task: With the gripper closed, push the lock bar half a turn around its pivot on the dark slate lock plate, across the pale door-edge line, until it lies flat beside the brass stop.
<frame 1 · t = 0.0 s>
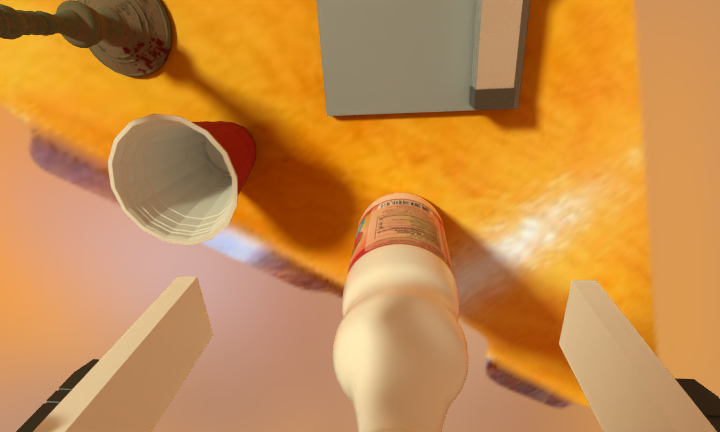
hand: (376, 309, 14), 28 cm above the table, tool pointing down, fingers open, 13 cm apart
plastic cup: (231, 145, 42), on the table
candlestick holder: (128, 26, 38), on the table
fruit juice: (400, 228, 44), on the table
lock bar: (498, 12, 31), point 3 cm above the table, hinge at 0.0°
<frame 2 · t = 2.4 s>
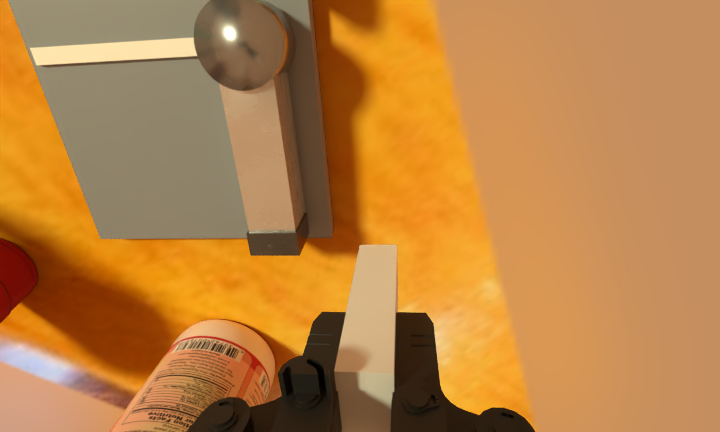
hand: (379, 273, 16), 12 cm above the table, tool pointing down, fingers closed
plastic cup: (6, 262, 34), on the table
lock plate: (175, 47, 24), on the table
fruit juice: (229, 354, 36), on the table
lock bar: (263, 137, 23), point 3 cm above the table, hinge at 0.0°
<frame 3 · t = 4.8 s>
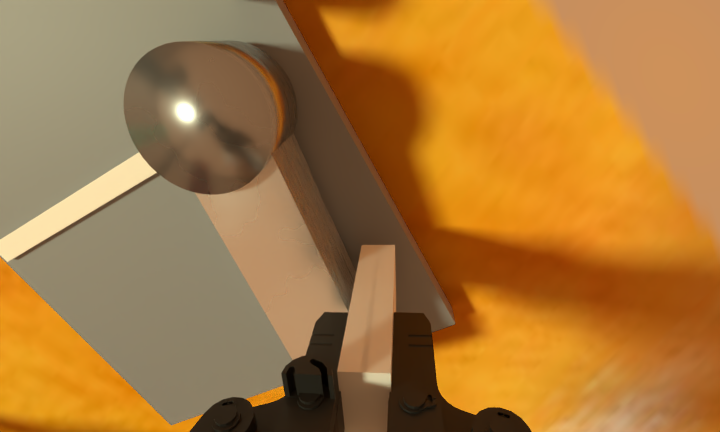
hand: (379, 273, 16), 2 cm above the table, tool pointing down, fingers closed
lock plate: (147, 164, 17), on the table
lock bar: (286, 242, 15), point 3 cm above the table, hinge at -7.8°, touching gripper
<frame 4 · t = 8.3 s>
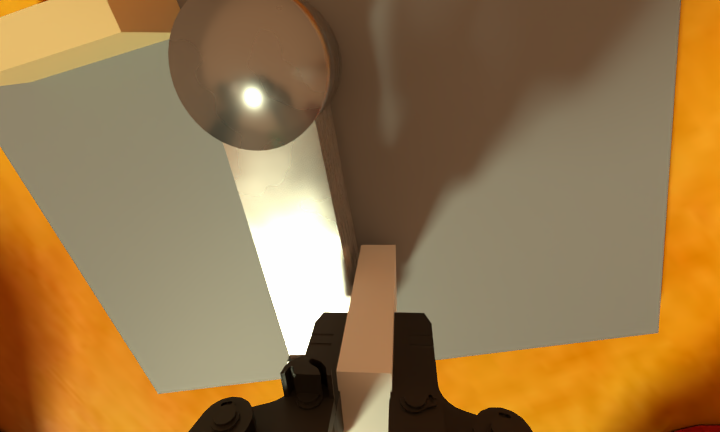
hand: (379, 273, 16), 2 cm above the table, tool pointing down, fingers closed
lock plate: (333, 199, 17), on the table
lock bar: (301, 214, 14), point 3 cm above the table, hinge at -95.0°, touching gripper
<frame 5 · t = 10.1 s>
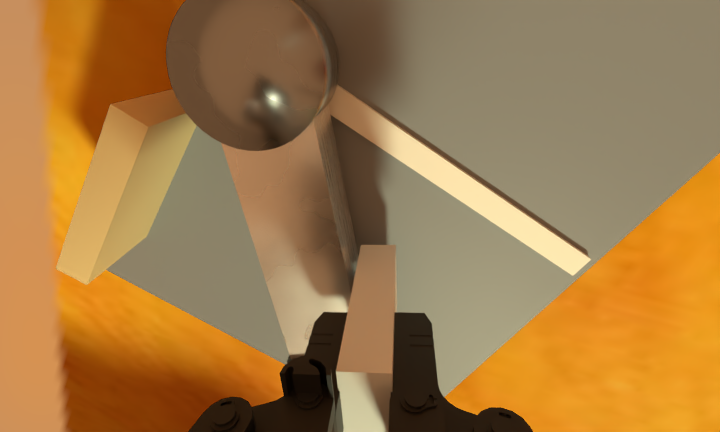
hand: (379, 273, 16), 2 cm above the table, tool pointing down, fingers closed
lock plate: (414, 146, 16), on the table
lock bar: (300, 214, 14), point 3 cm above the table, hinge at -137.4°, touching gripper
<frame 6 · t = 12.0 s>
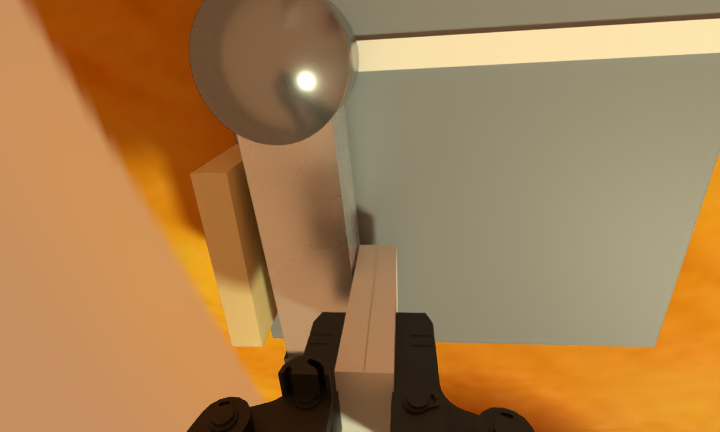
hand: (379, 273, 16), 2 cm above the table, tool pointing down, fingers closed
lock plate: (464, 48, 14), on the table
lock bar: (308, 211, 14), point 3 cm above the table, hinge at -177.3°, touching gripper
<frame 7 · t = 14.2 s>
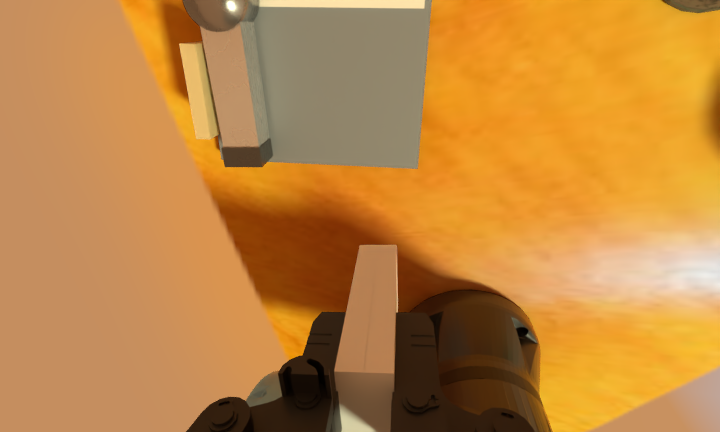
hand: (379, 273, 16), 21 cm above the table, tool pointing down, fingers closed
lock plate: (314, 0, 30), on the table
lock bar: (234, 72, 30), point 3 cm above the table, hinge at -177.4°
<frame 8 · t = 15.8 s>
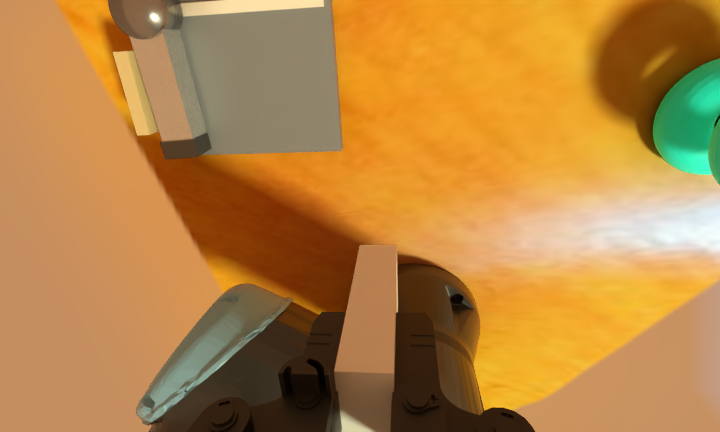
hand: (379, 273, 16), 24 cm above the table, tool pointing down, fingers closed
lock plate: (232, 7, 35), on the table
donuts: (706, 114, 35), on the table
lock bar: (165, 74, 34), point 3 cm above the table, hinge at -177.4°
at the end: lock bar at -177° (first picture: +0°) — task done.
